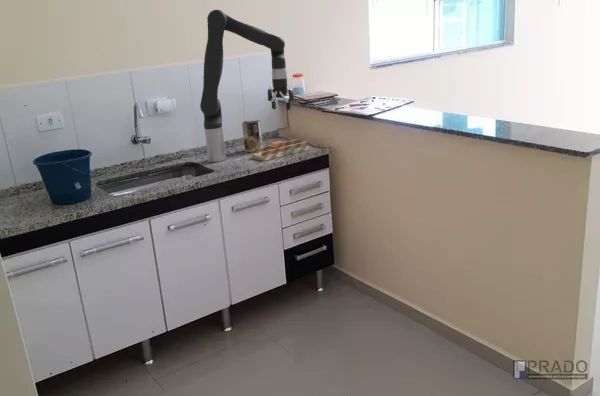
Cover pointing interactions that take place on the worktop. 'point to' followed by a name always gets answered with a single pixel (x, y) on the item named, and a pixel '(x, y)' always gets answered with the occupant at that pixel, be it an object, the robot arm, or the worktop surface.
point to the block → (277, 144)
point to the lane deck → (280, 150)
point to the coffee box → (252, 135)
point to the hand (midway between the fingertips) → (281, 109)
